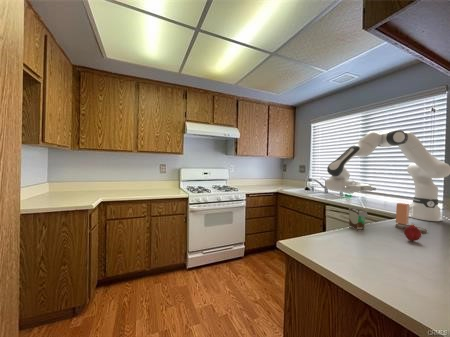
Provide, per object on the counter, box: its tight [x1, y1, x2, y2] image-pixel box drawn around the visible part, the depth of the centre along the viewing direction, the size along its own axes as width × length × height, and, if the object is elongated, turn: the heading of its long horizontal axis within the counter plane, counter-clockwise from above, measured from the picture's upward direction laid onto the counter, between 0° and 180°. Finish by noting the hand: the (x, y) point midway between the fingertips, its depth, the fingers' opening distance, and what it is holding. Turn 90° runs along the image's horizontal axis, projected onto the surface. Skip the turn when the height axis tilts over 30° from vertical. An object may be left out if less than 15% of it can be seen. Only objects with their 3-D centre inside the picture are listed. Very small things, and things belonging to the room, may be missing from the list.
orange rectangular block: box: [395, 202, 410, 225], centre depth 114 cm, size 4×4×12 cm
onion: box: [403, 223, 422, 242], centre depth 93 cm, size 6×6×8 cm
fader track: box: [394, 223, 428, 234], centre depth 111 cm, size 12×5×2 cm, turn 35°
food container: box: [348, 206, 368, 231], centre depth 110 cm, size 12×6×10 cm, turn 171°
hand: (373, 189), depth 126 cm, fingers open, 4 cm apart
